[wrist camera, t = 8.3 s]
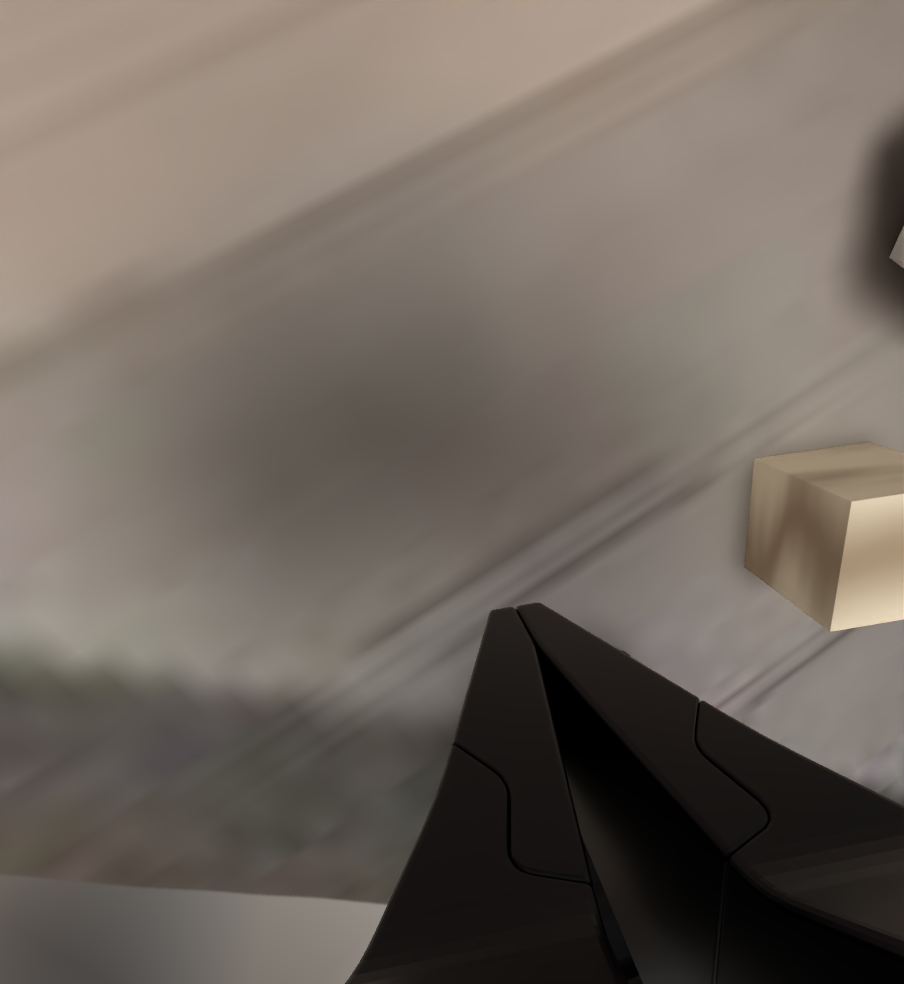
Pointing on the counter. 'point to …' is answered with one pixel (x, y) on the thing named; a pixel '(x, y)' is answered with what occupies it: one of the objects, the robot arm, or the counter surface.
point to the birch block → (831, 532)
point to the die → (899, 250)
